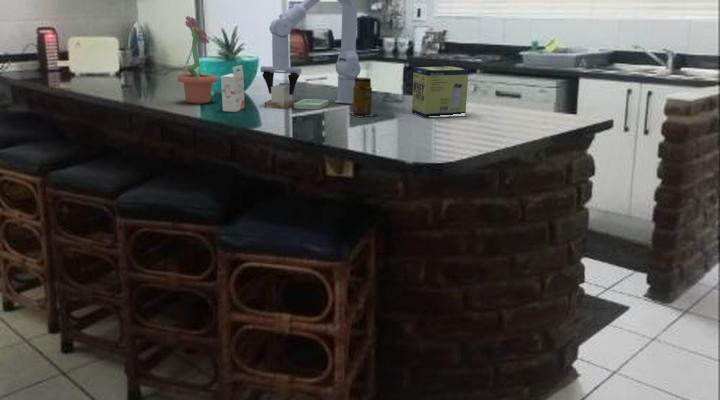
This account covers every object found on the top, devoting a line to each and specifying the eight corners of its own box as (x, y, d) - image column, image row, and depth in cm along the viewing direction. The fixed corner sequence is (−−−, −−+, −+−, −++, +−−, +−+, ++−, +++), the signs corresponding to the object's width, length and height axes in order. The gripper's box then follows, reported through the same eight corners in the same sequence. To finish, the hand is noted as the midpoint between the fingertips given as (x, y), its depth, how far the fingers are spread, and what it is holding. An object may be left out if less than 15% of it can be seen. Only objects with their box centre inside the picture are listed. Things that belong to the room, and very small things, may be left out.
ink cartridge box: (231, 107, 220) (229, 64, 216) (245, 108, 219) (243, 64, 215) (221, 111, 212) (219, 66, 208) (235, 112, 211) (233, 67, 207)
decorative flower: (225, 104, 227) (221, 16, 218) (188, 106, 220) (182, 16, 211) (209, 98, 239) (205, 15, 230) (173, 101, 231) (167, 15, 222)
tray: (328, 104, 230) (328, 100, 230) (318, 109, 219) (318, 105, 218) (305, 103, 232) (304, 98, 232) (293, 108, 221) (293, 103, 220)
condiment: (366, 112, 216) (367, 76, 212) (378, 116, 208) (379, 79, 205) (347, 113, 213) (347, 77, 209) (358, 117, 205) (359, 80, 202)
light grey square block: (291, 104, 229) (291, 83, 227) (283, 107, 222) (283, 85, 220) (279, 103, 230) (279, 82, 228) (271, 107, 223) (271, 85, 221)
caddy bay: (297, 104, 230) (297, 99, 229) (286, 108, 220) (286, 103, 219) (276, 102, 232) (275, 97, 231) (264, 107, 222) (264, 102, 221)
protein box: (410, 113, 216) (412, 66, 211) (451, 111, 221) (454, 66, 216) (424, 118, 206) (426, 69, 202) (466, 116, 211) (469, 69, 207)
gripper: (256, 54, 219) (257, 94, 223) (296, 56, 216) (296, 96, 220) (264, 53, 225) (265, 91, 229) (303, 54, 222) (303, 93, 226)
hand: (281, 93), depth 225 cm, fingers open, 7 cm apart
